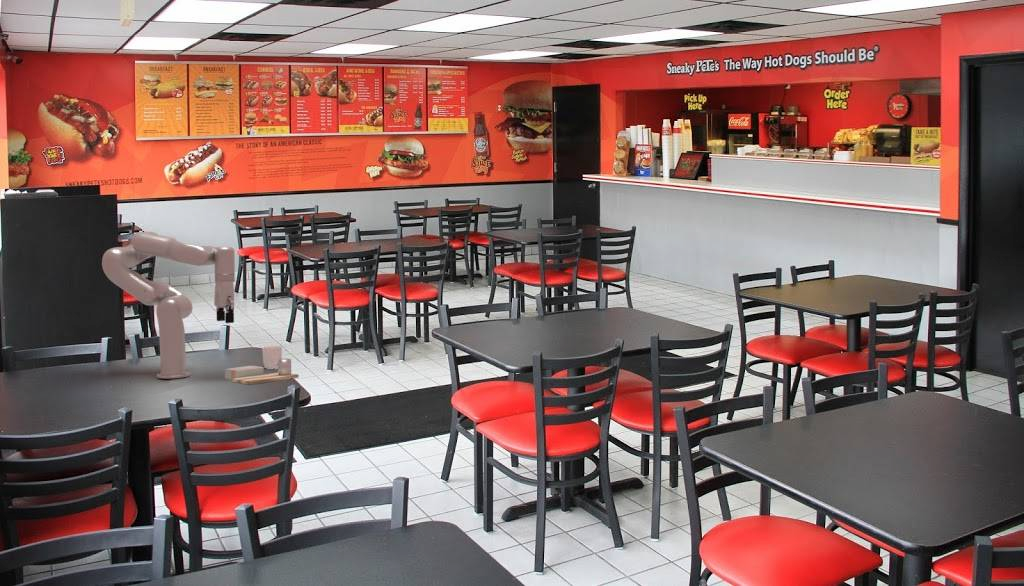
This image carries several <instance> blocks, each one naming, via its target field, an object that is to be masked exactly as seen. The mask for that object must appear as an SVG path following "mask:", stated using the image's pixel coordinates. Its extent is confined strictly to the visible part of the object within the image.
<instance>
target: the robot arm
mask: <svg viewBox="0 0 1024 586" xmlns="http://www.w3.org/2000/svg"><path fill="white" fill-rule="evenodd" d="M151 256H152V257H156V258H157V257H158V258H162V259H166V260H170V261H175V262H178V263H183V264H187V265H193V266H196V267H200V266H201V267H202V266H213V265H214V283H215V284H214V285H215V286H214V301H213V303H214V307H216V308H215V309H216V322H225V324H234V323H235V288H234V283H235V282H236V281H235V280H236V277H235V273H236V272H235V271H236V270H235V268H236V267H235V249H234V248H233V247H231V246H218V247H217V246H209V245H206V246H205V245H202V246H200V245H199V246H198V245H193V244H187V243H183V242H180V241H178V240H177V239H176V238H174V237H170V236H163V235H161V234H160V235H159V234H158V233H156V232H153V231H140V232H137V233H135V234H133V235H132V237H131V240H130V244H128V245H127V246H117V247H111V248H109V249H107V250H106V251H105V252H104V253H103V256H102V259H101V260H102V261H101V267H102V271H103V273H104V274H105V276H106V277H107V279H108V280H109V281H111V282H112V283H113V284H114V285H116V286H117V287H119V288H120V289H122V290H123V291H124V292H126V293H127V294H129V295H131V296H132V297H133V298H135V299H136V300H137V301H139V302H140V303H142V305H145V306H156V310H155V311H156V312H155V314H156V319H157V324H158V331H159V332H158V333H159V337H158V338H159V356H160V357H159V358H160V366H158V370H159V371H160V372H159V373H157V374H156V378H158V379H165V380H166V379H167V380H168V379H181V378H186V377H187V378H188V377H190V376H191V372H190V371H187V356H186V355H187V354H186V335H185V334H186V333H185V325H184V321H183V320H184V319H186V318H188V317H189V316H190V315H191V314H192V312H193V303H192V301H191V300H190V298H188V297H187V296H186V295H184V294H183V293H182V292H180V291H179V290H177V289H176V288H174V287H173V286H171V285H170V284H168V283H166V282H164V281H161V280H149V279H147V278H146V277H144V276H142V275H141V274H140V273H138V272H137V271H135V270H133V269H130V268H134V267H135V266H137V265H139V264H141V263H142V262H144V261H145V260H147V259H148V258H150V257H151Z"/></svg>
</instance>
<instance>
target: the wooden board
mask: <svg viewBox="0 0 1024 586" xmlns="http://www.w3.org/2000/svg"><path fill="white" fill-rule="evenodd" d="M291 378H292V380H293V379H298V378H299V374H297V373H291V375H287V376H280V375H278V371H277V372H271V373H264V374H262V375H255V376H248V377H241V378H234V379H232V380H231V382H232V383H236V384H237V383H238V384H243V385H250V386H251V385H252V386H253V385H256V384H257V385H258V384H265V383H270V382H279V381H285V380H291Z"/></svg>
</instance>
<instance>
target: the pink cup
mask: <svg viewBox="0 0 1024 586" xmlns="http://www.w3.org/2000/svg"><path fill="white" fill-rule="evenodd" d="M261 348H262V349H261V350H262V352H261V353H262V360H263V361H262V362H263V367H264V368H267V369H274V368H275V369H274V370H278V365H277V364H278V359H283V346H282V345H267V346H266V345H265V346H262V347H261ZM267 369H266V370H267Z"/></svg>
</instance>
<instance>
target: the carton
mask: <svg viewBox="0 0 1024 586" xmlns="http://www.w3.org/2000/svg"><path fill="white" fill-rule="evenodd" d="M262 374H265V371H264V366H257V365H245V366H239V367H231V368H224V379H225V380H229V381H232V379H234V378H241V377H248V376H255V375H262Z"/></svg>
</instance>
